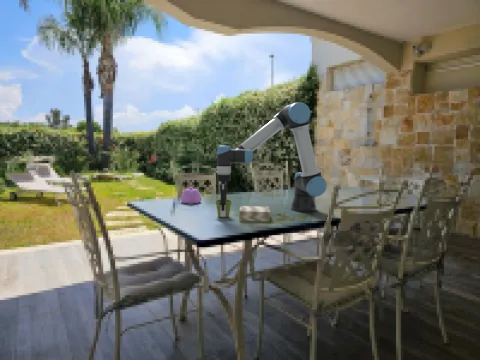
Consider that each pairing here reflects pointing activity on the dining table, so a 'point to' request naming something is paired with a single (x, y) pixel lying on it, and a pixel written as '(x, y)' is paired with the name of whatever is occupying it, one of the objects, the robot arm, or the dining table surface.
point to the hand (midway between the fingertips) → (223, 214)
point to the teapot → (191, 196)
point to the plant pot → (228, 204)
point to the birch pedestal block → (254, 213)
